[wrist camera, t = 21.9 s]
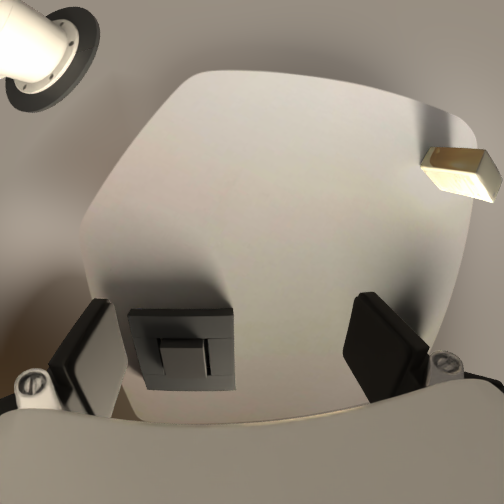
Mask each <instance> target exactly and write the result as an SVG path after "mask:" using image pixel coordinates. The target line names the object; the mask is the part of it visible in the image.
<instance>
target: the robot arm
mask: <svg viewBox="0 0 504 504" xmlns="http://www.w3.org/2000/svg"><path fill="white" fill-rule="evenodd" d="M78 43H79V33H78V29H77V27H76V26H75V25H74V24H73V23H72V22H70V21H68V20H65V19H59V20H55V21H51V20H49V19H48V18H46V17H45V16H44V15H42V14H41V13H39V12H38V11H36V10H35V9H33V8H32V7H30V6H29V5H27V4H26V3H24V2H23V1H21V0H0V79H2V78H4V77H9V78H13V79H14V82H15V85H16V86H17V88H18V89H19V90H20V91H22V92H25V93H29V94H33V93H38V92H41V91H43V90H45V89H47V88H48V87H50V86H51V85H52V84H54V83H55V82H56V81H57V80H58V79H59V78H60V77H61V76H62V74H63V73H64V72H65V71H66V69H67V68H68V66H69V65H70V64H71V62H72V60H73V58H74V56H75V53H76V51H77V48H78ZM429 348H430V347H429V346H428V345H427V344H426V343H425V342H424V341H423V340H422V339H421V338H420V337H419V336H418V335H417V334H416V333H415V332H414V331H413V329H412V328H411V327H410V326H409V325H408V324H407V323H406V322H404V321H403V320H402V319H401V318H400V317H399V316H398V315H397V314H396V313H395V312H394V311H393V310H392V309H391V308H390V307H389V306H388V305H387V304H386V303H385V302H384V301H383V300H382V299H381V298H380V297H379V296H378V295H377V294H376V293H374V292H364V293H360V294H359V295H358V297H356V298H355V300H354V304H353V309H352V314H351V318H350V323H349V327H348V331H347V335H346V339H345V344H344V347H343V357H344V359H345V361H346V362H347V364H348V366H349V368H350V369H351V371H352V373H353V374H354V376H355V378H356V379H357V381H358V383H359V385H360V386H361V388H362V390H363V391H364V393H365V395H366V397H367V398H368V400H369V402H370V404H367V405H363V406H358V407H354V408H349V409H345V410H340V411H335V412H330V413H325V414H319V415H313V416H307V417H300V418H293V419H285V420H277V421H268V422H256V423H240V424H206V425H198V424H166V423H151V422H139V421H130V420H121V419H113V418H111V415H112V412H113V408H114V405H115V402H116V399H117V396H118V393H119V390H120V386H121V383H122V380H123V377H124V375H125V372H126V369H127V365H128V359H127V355H126V352H125V348H124V344H123V341H122V337H121V333H120V329H119V325H118V320H117V316H116V312H115V307H114V304H113V303H110V301H109V300H108V299H97V298H94V299H93V300H92V301H91V303H90V304H89V306H88V307H87V308H86V309H85V311H84V312H83V314H82V315H81V316H80V318H79V319H78V321H77V322H76V323H75V325H74V326H73V328H72V329H71V330H70V332H69V333H68V335H67V336H66V338H65V339H64V340H63V342H62V343H61V345H60V346H59V348H58V350H57V351H56V352H55V354H54V356H53V357H52V359H51V360H50V362H49V363H48V365H49V368H48V370H47V371H45V370H42V369H37V368H36V369H35V368H34V369H29V370H27V371H25V372H23V373H22V374H20V375H19V377H18V378H17V379H16V382H15V384H14V390H15V393H14V394H11V395H9V396H6V397H4V398H1V399H0V504H504V386H503V384H502V383H501V382H500V381H498V380H494V379H491V378H487V377H483V376H479V375H475V374H471V373H467V372H464V368H463V363H462V361H461V360H460V358H459V357H457V356H456V355H454V354H453V353H451V352H448V351H442V350H440V351H435V352H433V353H432V354H431V355H430V356H429V355H428V354H427V352H428V350H429Z"/></svg>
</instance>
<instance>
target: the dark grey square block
mask: <svg viewBox="0 0 504 504" xmlns="http://www.w3.org/2000/svg"><path fill="white" fill-rule="evenodd" d="M160 352H161V356H162V361H163V365H164V370H165V374H166V378H171V379H206V378H207V361H206V352H205V342H204V338H190V339H181V338H162V341H161V344H160Z"/></svg>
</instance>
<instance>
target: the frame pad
mask: <svg viewBox="0 0 504 504" xmlns="http://www.w3.org/2000/svg"><path fill="white" fill-rule="evenodd" d="M127 317H128V321H129V325H130V330H131V334H132V338H133V342H134V346H135V350H136V353H137V357H138V361H139V364H140V367H141V371H142V374H143V378H144V381H145V384H146V387H147V390H164V391H233V390H236V380H235V349H234V314H233V308H221V309H131V310H130V311H129V313H128V315H127ZM160 338H181V339H190V338H207V340H208V350H209V361H210V367H207V378H206V379H171V378H166V374H165V370H164V365H163V361H162V356H161V352H160V344H161V340H160Z"/></svg>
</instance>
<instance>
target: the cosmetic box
mask: <svg viewBox="0 0 504 504" xmlns="http://www.w3.org/2000/svg"><path fill="white" fill-rule="evenodd" d="M420 167H421V168H422V170H423V171H424V172H425V173H426V174H427V175H428V176H429V178H430V179H431V180H432V181H433V182H434V183H435V184H436V185H437V187H438V188H439V189H440V190H444V191H448V192H453V193H457V194H461V195H465V196H469V197H473V198H477V199H481V200H484V201H488V202H492V203H494V201H495V199H496V196H497V193H498V191H499V189H500V186H501V183H502V180H503V179H502V177H501V175H500V173H499V171H498V169H497V167H496V165H495V164H494V162H493V160H492V159H491V157H490V156H489V154H488V152H487V151H486V150H483V149H469V148H450V147H430V149H429V150H428V152H427V154H426V156H425V158H424V160H423V161H422V163H421V165H420Z"/></svg>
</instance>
